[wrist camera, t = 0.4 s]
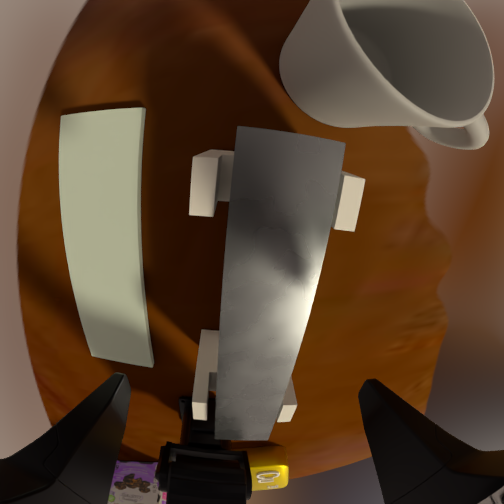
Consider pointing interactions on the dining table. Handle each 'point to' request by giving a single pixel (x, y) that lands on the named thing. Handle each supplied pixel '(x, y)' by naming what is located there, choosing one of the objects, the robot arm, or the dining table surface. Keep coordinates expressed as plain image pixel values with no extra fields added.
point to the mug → (392, 67)
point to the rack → (204, 204)
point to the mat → (106, 229)
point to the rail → (270, 270)
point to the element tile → (267, 466)
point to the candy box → (135, 484)
